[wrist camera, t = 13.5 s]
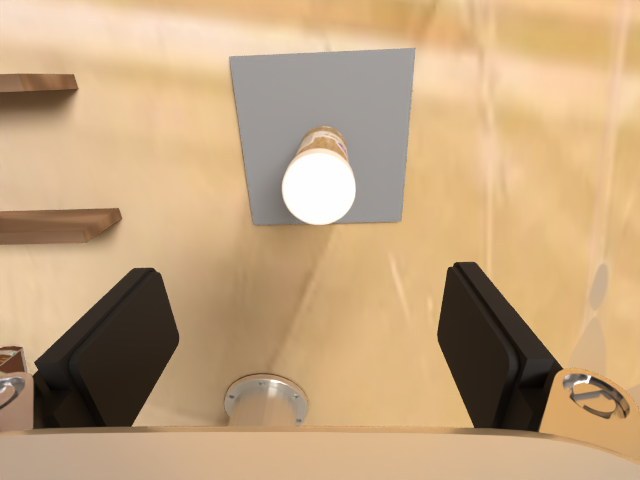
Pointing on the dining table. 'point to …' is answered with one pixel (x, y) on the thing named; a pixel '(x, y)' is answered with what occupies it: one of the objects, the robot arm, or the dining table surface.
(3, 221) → the shelf box
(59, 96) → the dining table surface
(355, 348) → the dining table surface
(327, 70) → the slate mat
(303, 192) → the spice jar
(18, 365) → the food container
